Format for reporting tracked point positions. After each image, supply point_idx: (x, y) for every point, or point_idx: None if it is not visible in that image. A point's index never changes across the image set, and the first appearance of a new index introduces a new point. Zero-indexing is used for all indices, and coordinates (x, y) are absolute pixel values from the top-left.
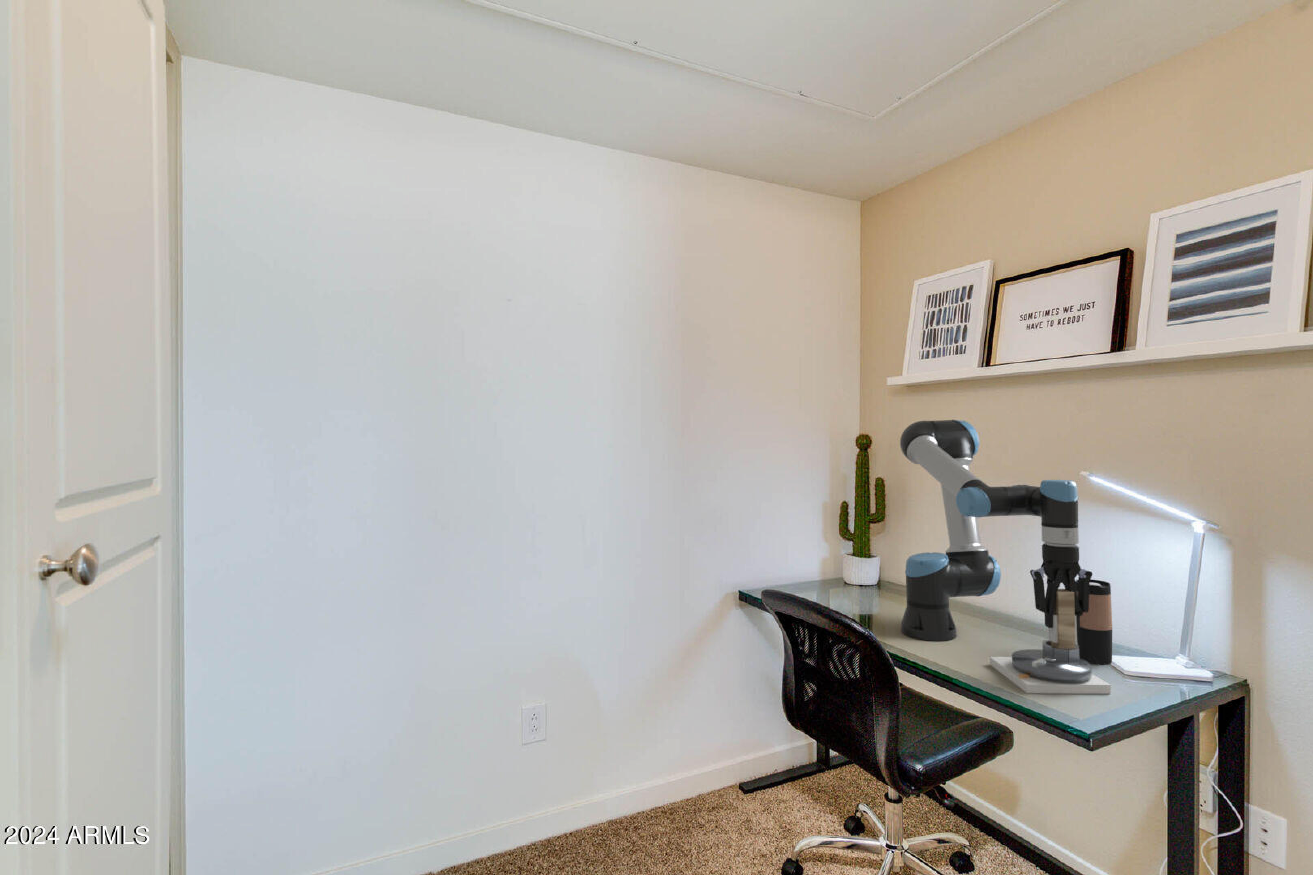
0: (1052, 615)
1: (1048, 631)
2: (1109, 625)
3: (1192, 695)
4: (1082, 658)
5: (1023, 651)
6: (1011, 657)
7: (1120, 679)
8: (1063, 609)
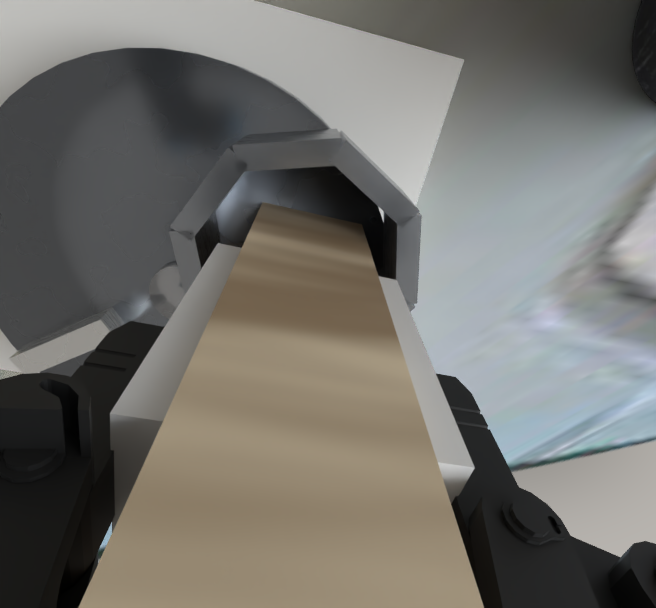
0: (114, 501)
1: (199, 272)
2: None
3: (587, 444)
4: (645, 9)
5: (102, 89)
6: None
7: (519, 299)
8: None
